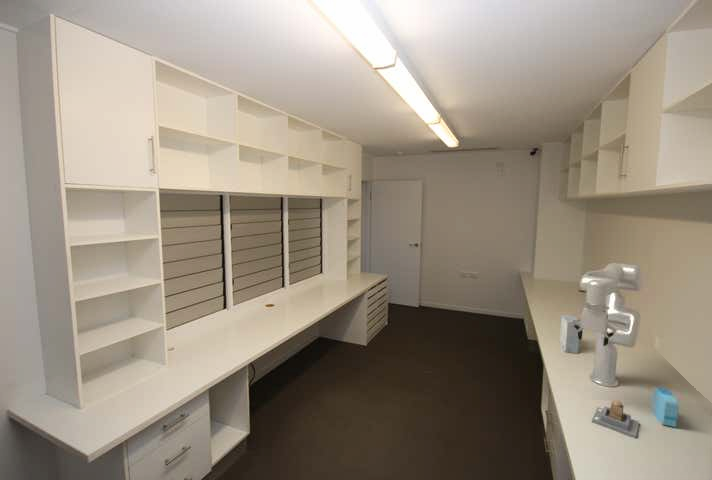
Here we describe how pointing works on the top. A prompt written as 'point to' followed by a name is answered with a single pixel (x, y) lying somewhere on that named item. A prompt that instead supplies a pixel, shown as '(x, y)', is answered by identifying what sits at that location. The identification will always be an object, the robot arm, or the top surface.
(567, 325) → the hard drive box
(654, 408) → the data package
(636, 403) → the top surface
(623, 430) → the frame
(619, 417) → the wooden block with knob
